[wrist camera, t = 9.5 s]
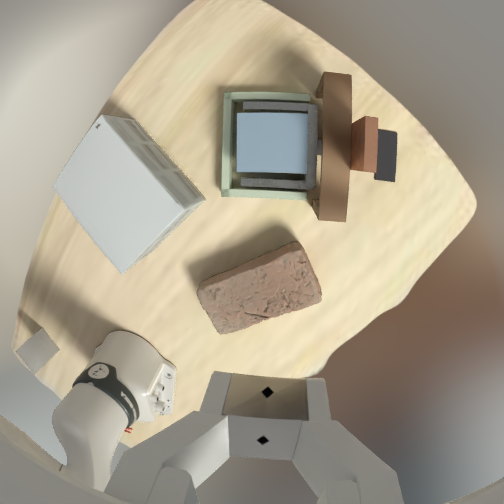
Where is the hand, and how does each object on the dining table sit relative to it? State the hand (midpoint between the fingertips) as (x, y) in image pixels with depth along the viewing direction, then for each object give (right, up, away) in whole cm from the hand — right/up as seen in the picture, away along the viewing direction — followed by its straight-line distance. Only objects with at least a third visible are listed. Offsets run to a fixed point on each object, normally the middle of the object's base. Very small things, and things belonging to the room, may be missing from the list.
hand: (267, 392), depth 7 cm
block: (+3, +18, +29) cm, 34 cm away
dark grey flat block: (+18, +17, +27) cm, 37 cm away
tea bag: (-50, -18, +47) cm, 71 cm away
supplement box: (-17, +14, +33) cm, 40 cm away
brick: (+1, -1, +36) cm, 36 cm away
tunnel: (+9, +18, +28) cm, 34 cm away
